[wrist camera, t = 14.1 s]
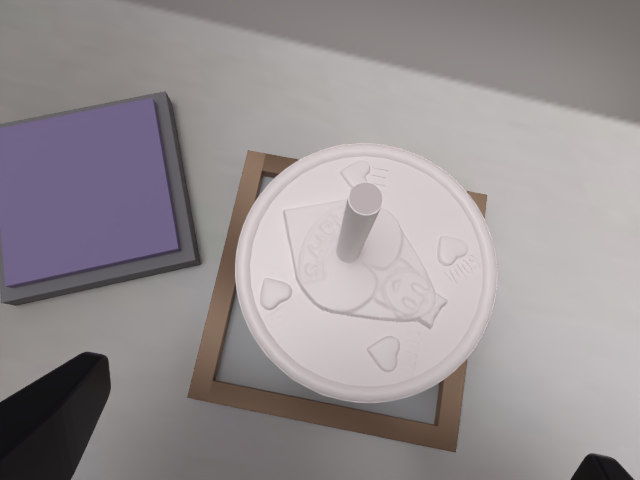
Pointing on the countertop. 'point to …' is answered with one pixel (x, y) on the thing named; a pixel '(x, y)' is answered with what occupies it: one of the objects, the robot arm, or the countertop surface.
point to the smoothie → (366, 273)
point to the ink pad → (92, 199)
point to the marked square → (274, 385)
